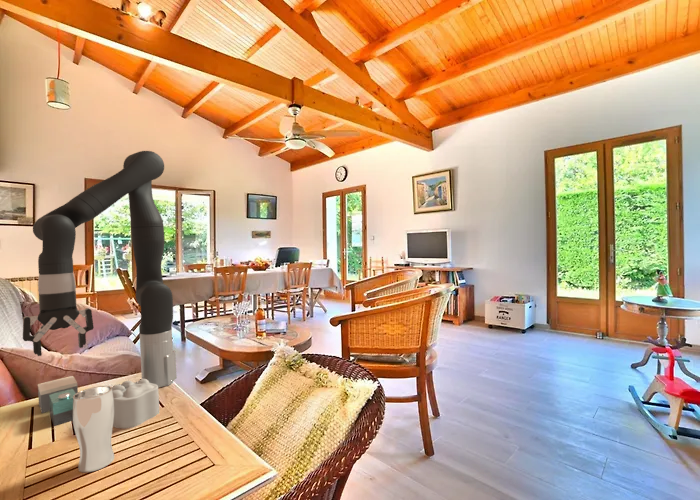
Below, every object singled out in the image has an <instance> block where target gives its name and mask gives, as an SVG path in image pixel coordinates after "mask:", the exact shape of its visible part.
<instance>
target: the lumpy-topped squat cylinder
mask: <svg viewBox="0 0 700 500" xmlns="http://www.w3.org/2000/svg"><path fill="white" fill-rule="evenodd" d="M111 387H112V392H113V398H114V422H113V428H116V429H123V430H124V429H131V428H136V427H137V426H140V425H142V424H143V423H145V422H147V421H148V420H151V419H153V418H154V417H157V416H158V415H159V414H160V397H159V387H158V385H156V384H153V383H149V381H148V380H147V379H142V378H141V379H139V380H138V381H135V382H134V381H132V380H125V381H123V382H122V383H121V384H120V383H119V384H115V385H113V386H111ZM157 414H158V415H157ZM156 415H157V416H156Z"/></svg>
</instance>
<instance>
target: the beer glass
mask: <svg viewBox="0 0 700 500" xmlns="http://www.w3.org/2000/svg"><path fill="white" fill-rule="evenodd" d="M112 387H113V386H110V385H97V386H93V387H89V388H85V389H82V390H80V391H79V392H78V393H76V394H75V395H74V396H73V421H72V424H73V429H74V434H75V437H76V439H77V440H76V441H77V443H78V447H79V461H78V467H77V470H78V471H79V472H80V473H85V474H86V473H93V472H96V471H99V470H101V469H104V468H106V467H107V466H108V465H111V463H112V462H113V461H114V460H115V453H114V451H113V446H112V435H113V428H114V427H113V422H114V398H113V392H112Z"/></svg>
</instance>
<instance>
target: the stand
mask: <svg viewBox="0 0 700 500" xmlns="http://www.w3.org/2000/svg"><path fill="white" fill-rule="evenodd" d="M72 388H73V390H74V391H75V393H78V391H79V390H78V381H77V380H76V378H75V377H74V376H73V375H69V376H67V377H62V378H61V377H60V378H57V379H54V380H48V381H44V382H42V383H37V391H38V393H37V395H38V406H39V409H40V412H41V414H45V413H48V412H50V401H49V395H50V394H53V393H57V392H61V391H65V390H69V389H72Z"/></svg>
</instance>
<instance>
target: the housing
mask: <svg viewBox="0 0 700 500" xmlns="http://www.w3.org/2000/svg"><path fill="white" fill-rule="evenodd" d="M75 394H76V393H75V391H74V390H73V388H72V389H69V390H65V391H61V392H57V393H53V394H50V395H49V401H50V411H49V416H50V419H51V421H52V424H53V426H54V427H57V426H60V425H64V424H66V423H69V422H73V396H74V395H75Z"/></svg>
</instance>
